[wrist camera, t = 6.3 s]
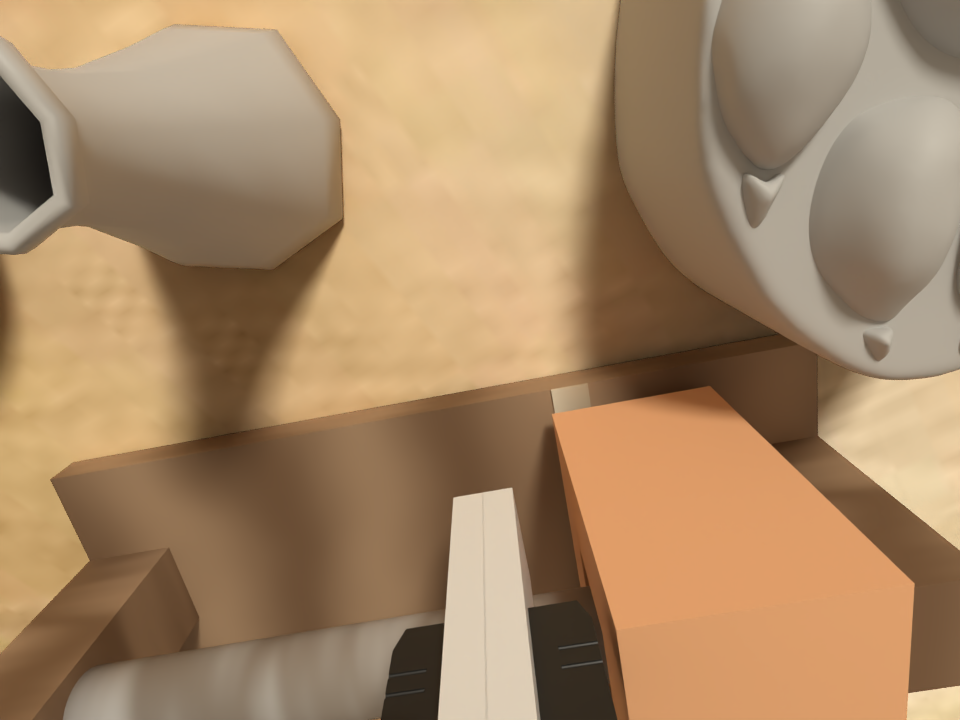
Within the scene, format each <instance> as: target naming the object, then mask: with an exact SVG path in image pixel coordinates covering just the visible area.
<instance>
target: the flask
mask: <svg viewBox="0 0 960 720" xmlns="http://www.w3.org/2000/svg"><path fill="white" fill-rule="evenodd" d="M341 219H343V202H342V168H341V134H340V119H339V117H338V116H337V115H336V113H335V112H334V110H333V109H332V107H331V106H330V105H329V103H328V102H327V100H326V99H325V98H324V96H323V95H322V93H321V92H320V90H319V89H318V88H317V86H316V85H315V83H314V82H313V80H312V79H311V78H310V76H309V75H308V73H307V72H306V71H305V69H304V68H303V66H302V65H301V63H300V62H299V61H298V59H297V58H296V56H295V55H294V53H293V52H292V51H291V49H290V48H289V46H288V45H287V44H286V42H285V41H284V39H283V38H282V36H281V35H280V34H279V32H278V31H277V30H273V29H254V28H235V27H216V26H197V25H178V24H175V25H172V26H170V27H167V28H165V29H162V30H160V31H158V32H156V33H154V34H153V35H151V36H149V37H147V38H145V39H143V40H141V41H139V42H137V43H135V44H133V45H131V46H129V47H127V48H125V49H122V50H119V51H117V52H114V53H112V54H109V55H107V56H104V57H102V58H99V59H97V60H94V61H91V62H89V63H86V64H84V65H81V66H79V67H76V68H68V69H51V70H50V69H45V68H39V67H34V66H31V65H30V64H29V63H28V62H27V61H26V59H25V58H24V57H23V56H22V55H21V53H20V52H19V51H18V50H17V49H16V47H15V46H14V45H13V44H12V43H11V42H9V41H7V40H6V39H4V38H3V37H1V36H0V254H11V255H17V254H25V253H28V252H29V251H31V250H33V249H34V248H36V247H37V246H38V245H39V244H41V243H42V242H43V241H44V240H46V239H47V238H48V237H49V236H50V235H52V234H53V233H54V232H55V231H57V230H58V229H59V228H63V227H70V226H86V227H90V228H93V229H96V230H98V231H101V232H104V233H106V234H109V235H111V236H114V237H117V238H119V239H122V240H125V241H127V242H130V243H133V244H135V245H138V246H141V247H143V248H145V249H147V250H149V251H151V252H153V253H155V254H157V255H159V256H161V257H164V258H166V259H168V260H170V261H172V262H175V263H177V264H180V265H182V266H199V267H222V268H245V269H268V270H273V269H275V268H276V267H277V266H279V265H280V264H282V263H283V262H284V261H286V260H287V259H288V258H290V257H291V256H292V255H294V254H295V253H297V252H298V251H299V250H301V249H302V248H303V247H305V246H306V245H307V244H309V243H310V242H311V241H313V240H314V239H316V238H317V237H318V236H320V235H321V234H322V233H324V232H325V231H326V230H328V229H329V228H331V227H332V226H333V225H335V224H336V223H337V222H339V221H340V220H341Z"/></svg>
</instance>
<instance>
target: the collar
mask: <svg viewBox="0 0 960 720" xmlns="http://www.w3.org/2000/svg"><path fill="white" fill-rule="evenodd" d="M552 419H553V425H554V431H555V437H556V443H557V449H558V455H559V461H560V467H561V473H562V479H563V485H564V491H565V497H566V503H567V509H568V515H569V521H570V527H571V533H572V539H573V545H574V551H575V557H576V563H577V569H578V575H579V581H580V587H586V586H590V589H591V592H592V596H593V600H594V604H595V607H596V611H597V615H598V619H599V622H600V626H601V630H602V634H603V641H604V647H605V653H606V660H607V666H608V673H609V679H610V684H609V688H610V692H611V696H612V700H613V704H614V708H615V712H616V716H617V720H906V718H907V701H908V685H909V668H910V652H911V635H912V618H913V602H914V585H915V583H914V582H913V581H911V580H910V579H909V578H908V577H907V576H906V575H905V574H904V573H903V572H902V571H901V570H900V569H899V568H898V567H897V566H896V565H895V564H894V563H893V562H892V561H891V560H890V559H889V558H888V557H887V556H886V555H885V554H884V553H882V552H881V551H880V550H879V549H878V548H877V547H876V546H875V545H874V544H873V543H872V542H871V541H870V540H869V539H868V538H867V537H866V536H865V535H864V534H863V533H862V532H861V531H860V530H859V529H858V528H857V527H856V526H855V525H853V524H852V523H851V522H850V521H849V520H848V519H847V518H846V517H845V516H844V515H843V514H842V513H841V512H840V511H839V510H838V509H837V508H836V507H835V506H834V505H833V504H832V503H831V502H830V501H829V500H828V499H827V498H825V497H824V496H823V495H822V494H821V493H820V492H819V491H818V490H817V489H816V488H815V487H814V486H813V485H812V484H811V483H810V482H809V481H808V480H807V479H806V478H805V477H804V476H803V475H802V474H801V473H800V472H799V471H798V470H796V469H795V468H794V467H793V466H792V465H791V464H790V463H789V462H788V461H787V460H786V459H785V458H784V457H783V456H782V455H781V454H780V453H779V452H778V451H777V450H776V449H775V448H774V447H773V446H772V445H771V444H770V443H769V442H767V441H766V440H765V439H764V438H763V437H762V436H761V435H760V434H759V433H758V432H757V431H756V430H755V429H754V428H753V427H752V426H751V425H750V424H749V423H748V422H747V421H746V420H745V419H744V418H743V417H742V416H741V415H739V414H738V413H737V412H736V411H735V410H734V409H733V408H732V407H731V406H730V405H729V404H728V403H727V402H726V401H725V400H724V399H723V398H722V397H721V396H720V395H719V394H718V393H717V392H716V391H715V390H714V389H713V388H712V387H710V386H707V387H701V388H696V389H690V390H684V391H679V392H673V393H667V394H662V395H656V396H651V397H645V398H639V399H634V400H628V401H622V402H617V403H611V404H606V405H600V406H594V407H589V408H583V409H577V410H572V411H566V412H561V413H555V414H552Z"/></svg>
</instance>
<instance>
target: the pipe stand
mask: <svg viewBox="0 0 960 720" xmlns="http://www.w3.org/2000/svg"><path fill="white" fill-rule="evenodd" d="M707 386H710V387H712V388H713V389H714V390H715V391H716V392H717V393H718V394H719V395H720V396H721V397H722V398H723V399H724V400H725V401H726V402H727V403H728V404H729V405H730V406H731V407H732V408H733V409H734V410H735V411H736V412H737V413H738V414H739V415H741V416H742V417H743V418H744V419H745V420H746V421H747V422H748V423H749V424H750V425H751V426H752V427H753V428H754V429H755V430H756V431H757V432H758V433H759V434H760V435H761V436H762V437H763V438H764V439H765V440H766V441H767V442H769V443H770V444H771V445H772V446H773V447H774V448H775V449H776V450H777V451H778V452H779V453H780V454H781V455H782V456H783V457H784V458H785V459H786V460H787V461H788V462H789V463H790V464H791V465H792V466H793V467H794V468H795V469H796V470H798V471H799V472H800V473H801V474H802V475H803V476H804V477H805V478H806V479H807V480H808V481H809V482H810V483H811V484H812V485H813V486H814V487H815V488H816V489H817V490H818V491H819V492H820V493H821V494H822V495H823V496H824V497H825V498H827V499H828V500H829V501H830V502H831V503H832V504H833V505H834V506H835V507H836V508H837V509H838V510H839V511H840V512H841V513H842V514H843V515H844V516H845V517H846V518H847V519H848V520H849V521H850V522H851V523H852V524H853V525H855V526H856V527H857V528H858V529H859V530H860V531H861V532H862V533H863V534H864V535H865V536H866V537H867V538H868V539H869V540H870V541H871V542H872V543H873V544H874V545H875V546H876V547H877V548H878V549H879V550H880V551H881V552H882V553H884V554H885V555H886V556H887V557H888V558H889V559H890V560H891V561H892V562H893V563H894V564H895V565H896V566H897V567H898V568H899V569H900V570H901V571H902V572H903V573H904V574H905V575H906V576H907V577H908V578H909V579H910V580H911V581H913V582H914V583H915V585H914V602H913V618H912V635H911V652H910V668H909V685H908V693H912V692H919V691H926V690H932V689H939V688H946V687H953V686H960V550H958V549H957V548H956V547H955V546H953V545H952V544H951V543H950V542H948V541H947V540H946V539H945V538H943V537H942V536H941V535H940V534H938V533H937V532H936V531H935V530H934V529H932V528H931V527H930V526H929V525H927V524H926V523H925V522H924V521H922V520H921V519H920V518H919V517H917V516H916V515H915V514H914V513H912V512H911V511H910V510H909V509H907V508H906V507H905V506H904V505H903V504H901V503H900V502H899V501H898V500H896V499H895V498H894V497H893V496H891V495H890V494H889V493H888V492H886V491H885V490H884V489H883V488H881V487H880V486H879V485H878V484H877V483H875V482H874V481H873V480H872V479H870V478H869V477H868V476H867V475H865V474H864V473H863V472H862V471H860V470H859V469H858V468H857V467H855V466H854V465H853V464H852V463H851V462H849V461H848V460H847V459H846V458H844V457H843V456H842V455H841V454H839V453H838V452H837V451H836V450H834V449H833V448H832V447H831V446H829V445H828V444H827V443H826V442H825V441H823V440H822V439H821V438H820V437H818V396H817V354H815V353H813V352H812V351H810V350H808V349H806V348H804V347H802V346H801V345H799V344H797V343H795V342H793V341H791V340H790V339H788V338H786V337H784V336H783V335H781V334H779V335H773V336H768V337H762V338H757V339H751V340H746V341H740V342H735V343H729V344H724V345H718V346H713V347H707V348H702V349H696V350H691V351H685V352H680V353H674V354H669V355H663V356H658V357H652V358H647V359H641V360H636V361H630V362H625V363H619V364H613V365H608V366H602V367H597V368H591V369H586V370H580V371H575V372H569V373H564V374H558V375H553V376H547V377H542V378H536V379H531V380H525V381H520V382H514V383H509V384H503V385H498V386H492V387H487V388H481V389H476V390H470V391H465V392H459V393H454V394H448V395H443V396H437V397H432V398H426V399H421V400H415V401H410V402H404V403H399V404H393V405H387V406H382V407H376V408H371V409H365V410H360V411H354V412H349V413H343V414H338V415H332V416H327V417H321V418H316V419H310V420H305V421H299V422H294V423H288V424H283V425H277V426H272V427H266V428H261V429H255V430H250V431H244V432H239V433H233V434H228V435H222V436H217V437H211V438H206V439H200V440H195V441H189V442H184V443H178V444H173V445H167V446H161V447H156V448H150V449H145V450H139V451H134V452H128V453H123V454H117V455H112V456H106V457H101V458H95V459H90V460H84V461H79V462H73V463H72V464H70V465H69V466H68V467H66V468H65V469H64V470H62V471H61V472H60V473H58V474H57V475H56V476H54V477H53V478H52V479H50V480H51V482H52V484H53V486H54V488H55V490H56V492H57V494H58V496H59V498H60V500H61V503H62V505H63V507H64V509H65V511H66V513H67V515H68V517H69V519H70V521H71V523H72V525H73V527H74V529H75V531H76V533H77V535H78V537H79V539H80V541H81V543H82V545H83V547H84V549H85V551H86V553H87V555H88V558H89V560H90V561H89V562H88V563H87V564H86V565H85V566H84V567H83V569H82V570H81V571H80V572H79V573H78V574H77V575H76V576H75V577H74V578H73V579H72V580H71V581H70V582H69V583H68V584H67V585H66V586H65V587H64V588H63V589H62V590H61V591H60V592H59V593H58V594H57V596H56V597H55V598H54V599H53V600H52V601H51V602H50V603H49V604H48V605H47V606H46V607H45V608H44V609H43V610H42V611H41V612H40V613H39V614H38V615H37V616H36V617H35V618H34V619H33V620H32V621H31V623H30V624H29V625H28V626H27V627H26V628H25V629H24V630H23V631H22V632H21V633H20V634H19V635H18V636H17V637H16V638H15V639H14V640H13V641H12V642H11V643H10V644H9V645H8V646H7V647H6V648H5V650H4V651H3V652H2V653H1V654H0V720H373V719H379V718H381V715H382V709H383V703H384V699H385V698H386V696H385V692H386V686H387V680H388V679H389V669H390V663H391V657H392V651H393V649H394V648H395V646H396V644H397V643H398V641H399V639H400V638H401V636H402V635H403V633H404V631H405V630H406V629H409V628H415V627H421V626H428V625H434V624H440V623H445V611H446V597H447V583H448V568H449V554H450V540H451V525H452V511H453V497H459V496H465V495H471V494H477V493H483V492H489V491H495V490H501V489H506V488H512V489H513V494H514V499H515V504H516V509H517V514H518V519H519V524H520V529H521V534H522V539H523V544H524V549H525V554H526V559H527V564H528V569H529V574H530V581H531V589H532V597H533V604H534V607H537V606H543V605H550V604H556V603H562V602H569V601H575V600H577V601H578V602H579V603H580V605H581V606H582V607H583V608H584V609H585V610H586V612H587V613H588V614H589V615H590V616H591V617H592V620H593V624H594V628H595V632H596V636H597V640H598V645H599V648H600V652H601V656H602V660H603V664H604V668H605V672H606V676H607V680H608V684H610V679H609V673H608V666H607V660H606V653H605V647H604V641H603V634H602V630H601V626H600V622H599V619H598V615H597V611H596V607H595V604H594V600H593V596H592V592H591V589H590V586H586V587H580V581H579V575H578V569H577V563H576V557H575V551H574V545H573V539H572V533H571V527H570V521H569V515H568V509H567V503H566V497H565V491H564V485H563V479H562V473H561V467H560V461H559V455H558V449H557V443H556V437H555V431H554V425H553V419H552V414H555V413H561V412H566V411H572V410H577V409H583V408H589V407H594V406H600V405H606V404H611V403H617V402H622V401H628V400H634V399H639V398H645V397H651V396H656V395H662V394H667V393H673V392H679V391H684V390H690V389H696V388H701V387H707Z"/></svg>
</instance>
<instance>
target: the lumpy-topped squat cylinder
mask: <svg viewBox="0 0 960 720" xmlns="http://www.w3.org/2000/svg"><path fill="white" fill-rule="evenodd" d="M615 130H616V144H617V154H618V161H619V166H620V171H621V174H622V178H623V180H624V183H625V186H626V188H627V190H628V192H629V195H630V197H631V199H632V201H633V203H634V205H635V207H636V209H637V211H638V213H639V214H640V216H641V218H642V220H643V222H644V224H645V225H646V227H647V229H648V231H649V232H650V234H651V236H652V237H653V239H654V240H655V242H656V244H657V245H658V247H659V248H660V249H661V251H662V252H663V254H664V255H665V256H666V258H667V259H668V260H669V261H670V262H671V264H672V265H673V266H674V267H675V268H676V269H677V270H678V271H680V272H681V273H682V274H683V275H684V276H685V277H687V278H688V279H689V280H690V281H692V282H693V283H694V284H696V285H697V286H698V287H700V288H701V289H703V290H704V291H706V292H707V293H709V294H711V295H712V296H714V297H716V298H718V299H719V300H721V301H723V302H725V303H726V304H728V305H730V306H732V307H733V308H735V309H737V310H739V311H740V312H742V313H744V314H746V315H747V316H749V317H751V318H753V319H754V320H756V321H758V322H760V323H761V324H763V325H765V326H767V327H769V328H770V329H772V330H774V331H776V332H777V333H779V334H781V335H783V336H784V337H786V338H788V339H790V340H791V341H793V342H795V343H797V344H799V345H801V346H802V347H804V348H806V349H808V350H810V351H812V352H813V353H815V354H817V355H819V356H821V357H823V358H825V359H827V360H829V361H831V362H833V363H835V364H837V365H839V366H841V367H843V368H845V369H848V370H851V371H853V372H856V373H859V374H862V375H865V376H869V377H874V378H879V379H886V380H910V379H920V378H928V377H934V376H939V375H942V374H946V373H949V372H952V371H956V370H958V369H960V0H621V1H620V10H619V19H618V28H617V39H616V54H615Z"/></svg>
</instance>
